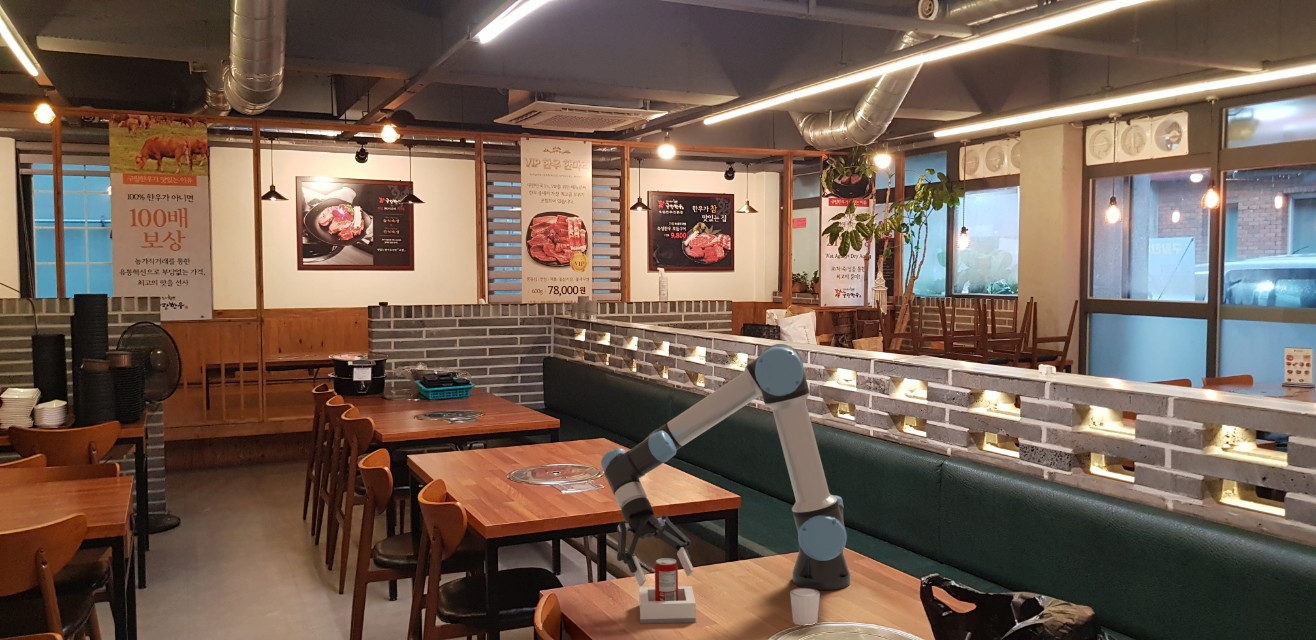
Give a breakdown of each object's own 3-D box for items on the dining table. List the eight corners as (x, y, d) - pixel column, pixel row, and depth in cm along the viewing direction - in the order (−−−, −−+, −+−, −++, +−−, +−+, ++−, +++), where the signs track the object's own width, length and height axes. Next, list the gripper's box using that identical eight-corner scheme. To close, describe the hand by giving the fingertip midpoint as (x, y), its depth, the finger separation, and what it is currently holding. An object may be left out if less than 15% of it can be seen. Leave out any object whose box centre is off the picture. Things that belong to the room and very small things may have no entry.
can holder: (691, 604, 237) (691, 586, 237) (695, 622, 224) (695, 603, 224) (639, 605, 237) (639, 587, 237) (640, 623, 224) (640, 604, 224)
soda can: (667, 603, 234) (666, 555, 234) (683, 609, 230) (682, 559, 230) (650, 609, 231) (650, 559, 230) (666, 614, 227) (665, 564, 226)
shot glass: (819, 627, 220) (819, 597, 219) (789, 626, 221) (789, 595, 221) (820, 617, 226) (820, 588, 226) (791, 616, 228) (791, 586, 228)
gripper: (670, 506, 251) (703, 577, 238) (585, 519, 237) (616, 595, 225) (681, 489, 246) (715, 561, 234) (595, 502, 233) (627, 578, 221)
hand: (667, 578), depth 230 cm, fingers open, 13 cm apart
